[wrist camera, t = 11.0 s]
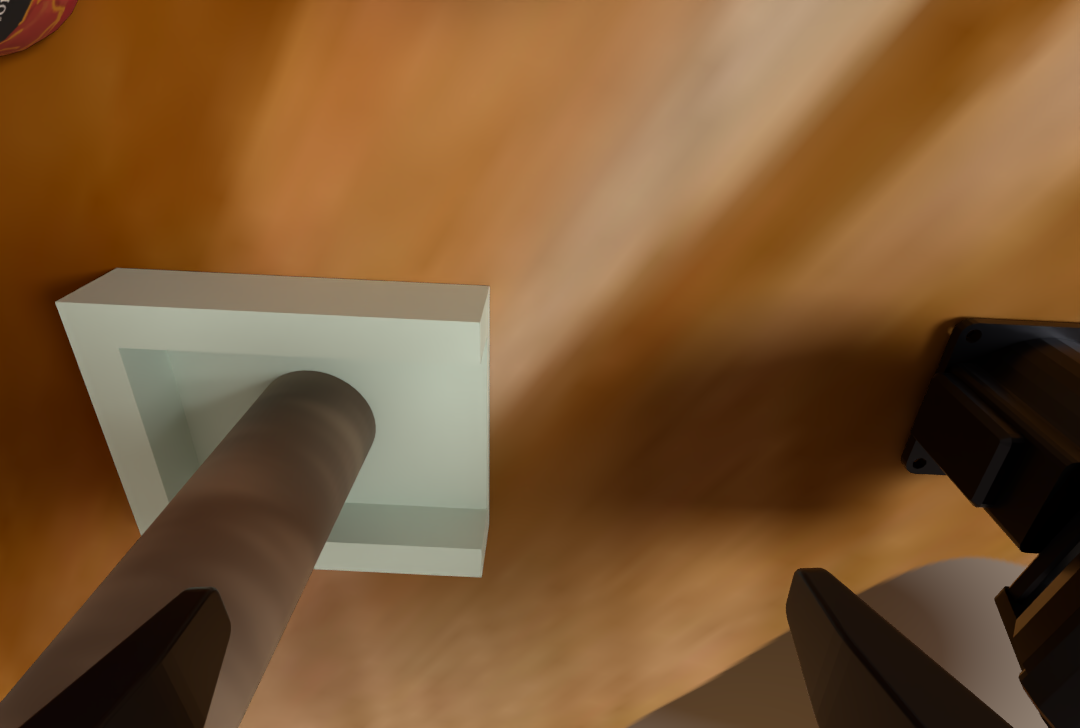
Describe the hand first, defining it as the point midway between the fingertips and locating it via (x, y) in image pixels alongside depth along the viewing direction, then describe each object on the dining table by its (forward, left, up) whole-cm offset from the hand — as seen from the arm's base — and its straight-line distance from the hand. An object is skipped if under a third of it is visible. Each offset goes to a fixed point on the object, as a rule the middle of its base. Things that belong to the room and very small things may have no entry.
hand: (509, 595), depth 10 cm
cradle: (+8, +6, -13) cm, 17 cm away
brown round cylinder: (+8, +6, -13) cm, 16 cm away
